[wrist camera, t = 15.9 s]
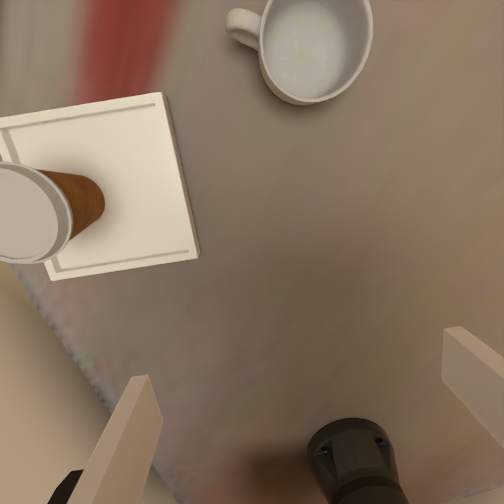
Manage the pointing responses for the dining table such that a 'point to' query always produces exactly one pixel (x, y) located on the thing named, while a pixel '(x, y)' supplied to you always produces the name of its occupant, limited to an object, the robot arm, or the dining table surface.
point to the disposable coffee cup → (43, 211)
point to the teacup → (307, 45)
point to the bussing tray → (113, 180)
